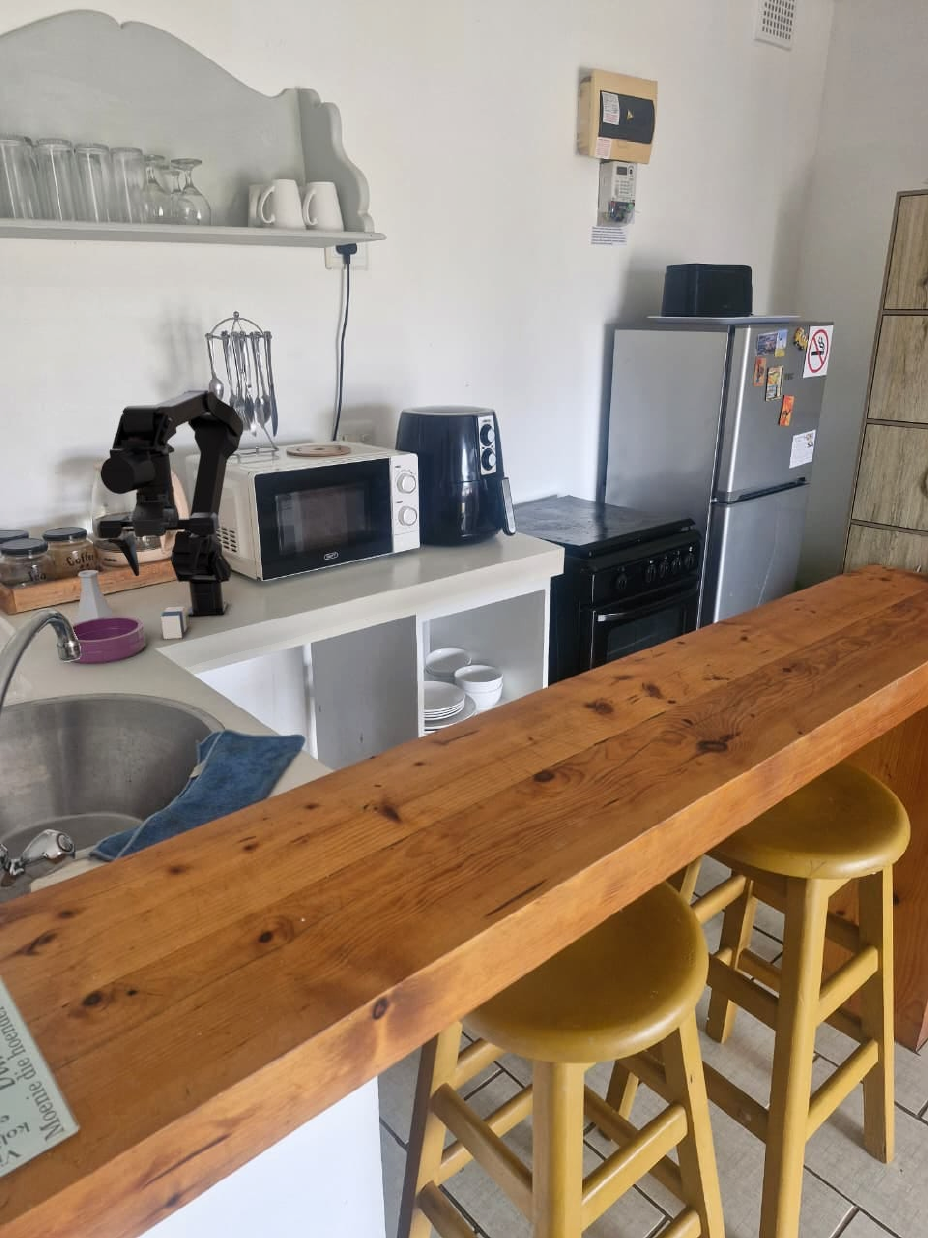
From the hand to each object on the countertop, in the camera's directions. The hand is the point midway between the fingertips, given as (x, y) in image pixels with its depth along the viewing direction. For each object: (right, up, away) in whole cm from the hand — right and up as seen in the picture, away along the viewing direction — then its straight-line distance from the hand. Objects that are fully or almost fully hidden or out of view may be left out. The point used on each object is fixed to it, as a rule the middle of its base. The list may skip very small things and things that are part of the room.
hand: (165, 574), depth 148 cm
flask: (-15, -9, +9) cm, 20 cm away
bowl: (-9, -13, -4) cm, 16 cm away
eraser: (0, -10, +4) cm, 11 cm away
